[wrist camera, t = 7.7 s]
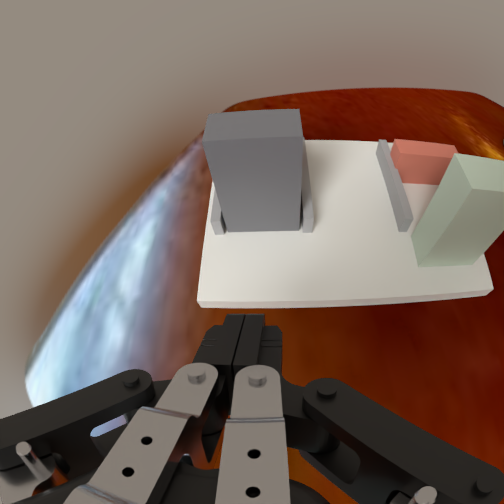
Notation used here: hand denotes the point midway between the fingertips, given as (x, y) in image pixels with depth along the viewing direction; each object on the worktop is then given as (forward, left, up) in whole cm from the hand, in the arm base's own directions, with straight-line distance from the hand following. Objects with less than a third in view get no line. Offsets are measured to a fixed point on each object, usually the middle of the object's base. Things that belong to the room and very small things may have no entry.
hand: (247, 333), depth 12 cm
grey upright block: (0, -13, -9) cm, 16 cm away
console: (-8, -14, -11) cm, 19 cm away
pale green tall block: (-16, -9, -9) cm, 20 cm away
